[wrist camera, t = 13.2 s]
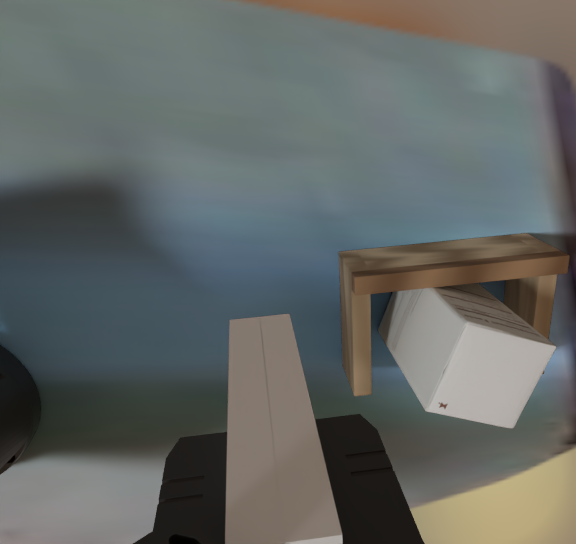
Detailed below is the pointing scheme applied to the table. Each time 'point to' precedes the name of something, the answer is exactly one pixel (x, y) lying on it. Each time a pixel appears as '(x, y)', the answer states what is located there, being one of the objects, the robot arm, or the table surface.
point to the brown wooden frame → (443, 284)
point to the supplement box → (465, 352)
